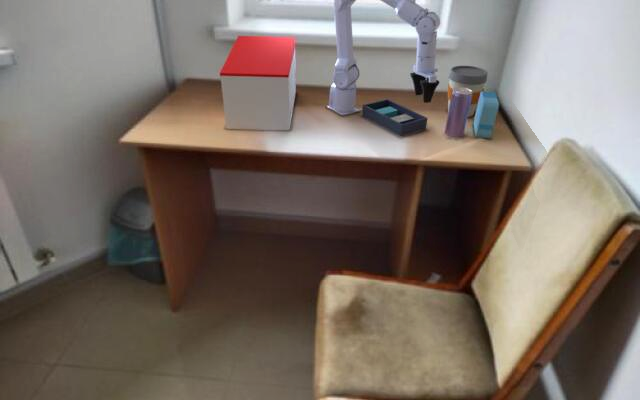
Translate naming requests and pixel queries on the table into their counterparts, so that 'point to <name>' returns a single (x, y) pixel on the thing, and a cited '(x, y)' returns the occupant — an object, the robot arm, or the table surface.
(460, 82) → the lidded jar
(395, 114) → the block
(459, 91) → the beverage can
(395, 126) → the box
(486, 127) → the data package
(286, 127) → the red-topped white block
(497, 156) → the table surface
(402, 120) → the silver metal block
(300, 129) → the table surface
